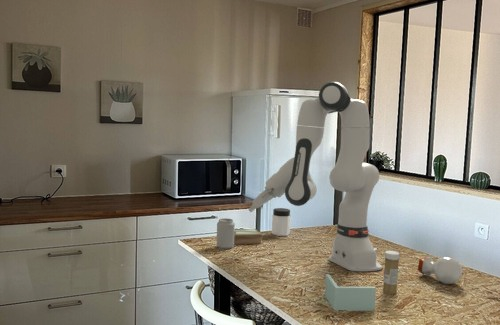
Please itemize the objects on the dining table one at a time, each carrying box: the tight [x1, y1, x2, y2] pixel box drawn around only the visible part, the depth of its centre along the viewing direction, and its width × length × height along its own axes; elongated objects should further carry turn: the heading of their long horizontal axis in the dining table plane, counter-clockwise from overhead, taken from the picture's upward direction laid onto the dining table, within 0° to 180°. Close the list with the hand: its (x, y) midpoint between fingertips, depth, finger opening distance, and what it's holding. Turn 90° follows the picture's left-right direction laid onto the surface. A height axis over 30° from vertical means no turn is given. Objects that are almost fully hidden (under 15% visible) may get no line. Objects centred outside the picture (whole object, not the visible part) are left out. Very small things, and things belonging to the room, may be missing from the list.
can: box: [216, 218, 235, 250], centre depth 201 cm, size 8×8×12 cm
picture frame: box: [234, 228, 262, 245], centre depth 212 cm, size 10×12×4 cm
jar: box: [271, 207, 291, 237], centre depth 227 cm, size 9×8×12 cm
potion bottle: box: [417, 256, 463, 285], centre depth 166 cm, size 9×10×15 cm
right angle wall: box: [324, 273, 377, 312], centre depth 143 cm, size 12×12×8 cm
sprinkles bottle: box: [382, 250, 400, 295], centre depth 152 cm, size 5×5×14 cm
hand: (253, 208), depth 200 cm, fingers open, 8 cm apart
